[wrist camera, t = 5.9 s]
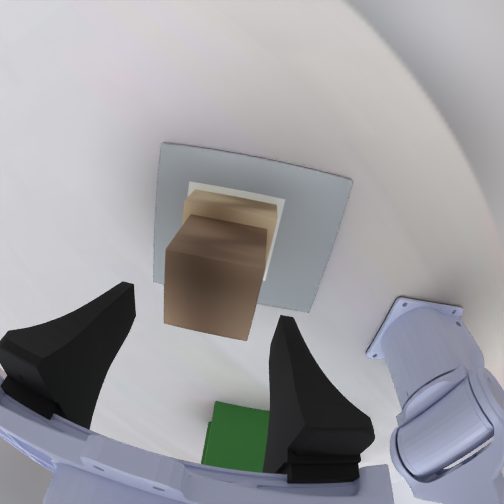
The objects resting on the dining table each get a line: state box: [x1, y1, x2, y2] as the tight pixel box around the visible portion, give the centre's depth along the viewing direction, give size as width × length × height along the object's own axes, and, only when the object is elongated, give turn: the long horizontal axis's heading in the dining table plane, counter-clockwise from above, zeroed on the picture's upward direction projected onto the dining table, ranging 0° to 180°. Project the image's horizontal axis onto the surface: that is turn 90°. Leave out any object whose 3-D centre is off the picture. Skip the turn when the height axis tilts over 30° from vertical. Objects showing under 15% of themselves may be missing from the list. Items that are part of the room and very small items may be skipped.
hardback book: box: [201, 401, 270, 473], centre depth 25 cm, size 18×7×24 cm, turn 76°
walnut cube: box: [164, 214, 267, 341], centre depth 17 cm, size 5×5×5 cm
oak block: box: [182, 189, 277, 268], centre depth 21 cm, size 6×6×3 cm
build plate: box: [153, 143, 353, 313], centre depth 22 cm, size 14×12×1 cm
